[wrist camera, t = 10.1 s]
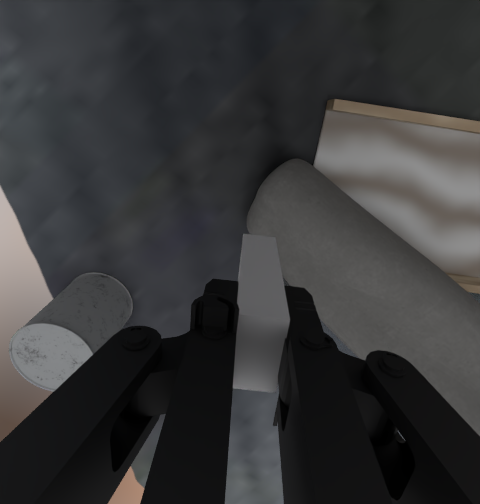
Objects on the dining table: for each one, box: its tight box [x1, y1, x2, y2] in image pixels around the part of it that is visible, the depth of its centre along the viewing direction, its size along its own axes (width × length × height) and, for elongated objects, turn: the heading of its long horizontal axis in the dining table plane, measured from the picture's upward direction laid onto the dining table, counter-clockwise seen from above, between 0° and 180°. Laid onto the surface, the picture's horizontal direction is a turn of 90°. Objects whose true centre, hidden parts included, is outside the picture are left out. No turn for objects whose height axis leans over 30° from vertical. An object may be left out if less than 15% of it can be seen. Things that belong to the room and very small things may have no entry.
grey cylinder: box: [9, 272, 133, 392], centre depth 42 cm, size 10×10×12 cm
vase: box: [247, 159, 480, 436], centre depth 34 cm, size 12×12×30 cm
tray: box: [313, 99, 480, 294], centre depth 38 cm, size 19×32×4 cm, turn 82°
